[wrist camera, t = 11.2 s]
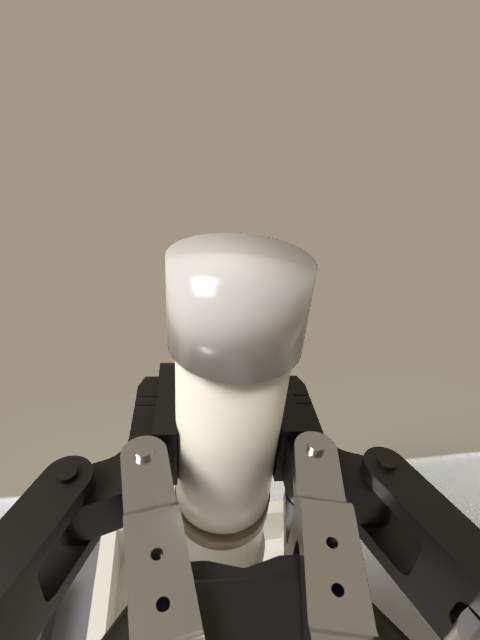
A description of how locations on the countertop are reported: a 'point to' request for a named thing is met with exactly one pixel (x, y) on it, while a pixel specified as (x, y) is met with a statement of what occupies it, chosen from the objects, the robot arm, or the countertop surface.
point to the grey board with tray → (121, 584)
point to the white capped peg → (232, 380)
